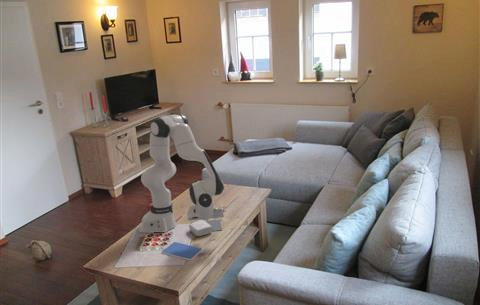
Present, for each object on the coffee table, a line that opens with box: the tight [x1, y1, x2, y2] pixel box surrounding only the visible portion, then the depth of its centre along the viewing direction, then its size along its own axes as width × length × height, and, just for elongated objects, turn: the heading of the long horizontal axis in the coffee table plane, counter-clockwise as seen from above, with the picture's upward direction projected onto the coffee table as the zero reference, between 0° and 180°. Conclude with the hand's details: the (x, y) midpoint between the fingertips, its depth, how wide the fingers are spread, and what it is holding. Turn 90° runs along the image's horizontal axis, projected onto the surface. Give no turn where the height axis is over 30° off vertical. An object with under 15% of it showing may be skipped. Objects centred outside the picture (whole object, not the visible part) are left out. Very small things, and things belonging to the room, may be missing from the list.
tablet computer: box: [161, 241, 204, 261], centre depth 213 cm, size 19×13×1 cm, turn 63°
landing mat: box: [190, 218, 223, 234], centre depth 239 cm, size 18×14×1 cm
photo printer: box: [188, 220, 213, 237], centre depth 233 cm, size 10×4×12 cm
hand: (205, 219), depth 226 cm, fingers closed
